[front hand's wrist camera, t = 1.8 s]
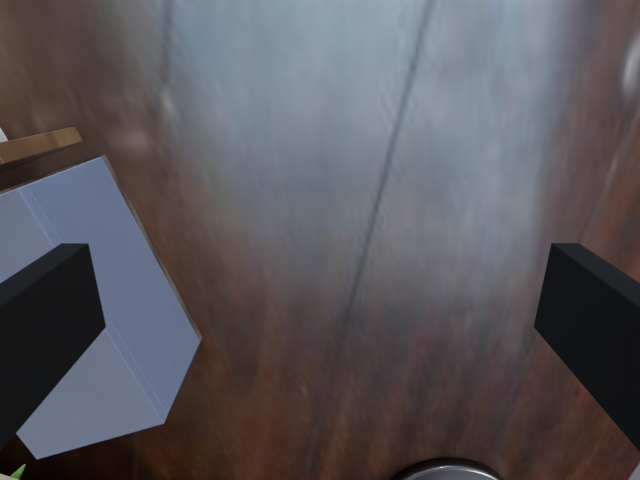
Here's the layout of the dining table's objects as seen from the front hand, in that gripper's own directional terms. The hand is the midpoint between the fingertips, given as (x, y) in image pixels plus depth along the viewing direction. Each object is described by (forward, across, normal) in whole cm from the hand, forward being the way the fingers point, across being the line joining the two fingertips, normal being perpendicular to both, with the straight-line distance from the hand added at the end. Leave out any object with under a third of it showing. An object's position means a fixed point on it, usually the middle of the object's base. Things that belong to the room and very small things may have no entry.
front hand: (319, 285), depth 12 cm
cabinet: (+24, +19, +11) cm, 32 cm away
